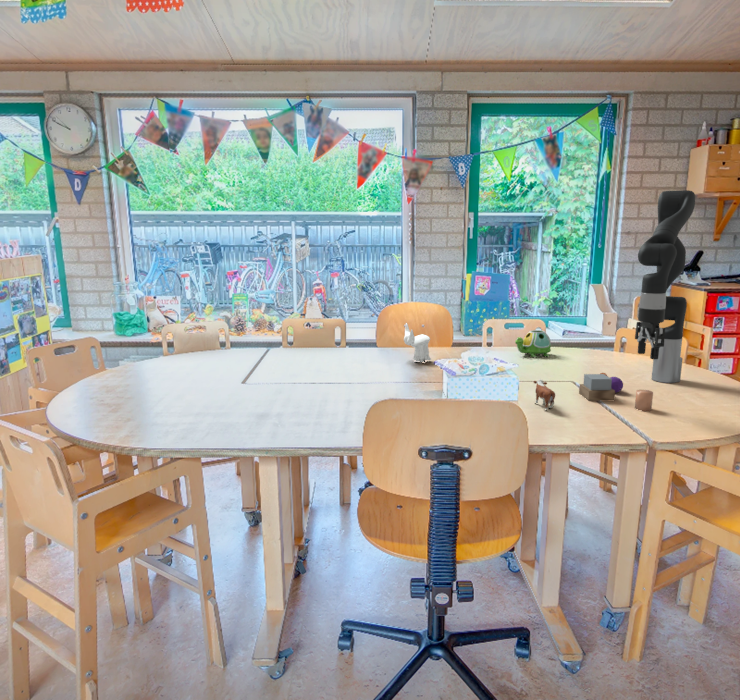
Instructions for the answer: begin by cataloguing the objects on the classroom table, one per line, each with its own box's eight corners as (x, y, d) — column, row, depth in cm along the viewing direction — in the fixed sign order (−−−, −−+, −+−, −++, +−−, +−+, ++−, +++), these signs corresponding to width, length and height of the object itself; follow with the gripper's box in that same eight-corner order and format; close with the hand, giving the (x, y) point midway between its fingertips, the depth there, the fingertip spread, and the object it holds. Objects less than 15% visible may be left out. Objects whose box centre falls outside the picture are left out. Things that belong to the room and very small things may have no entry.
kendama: (612, 371, 216) (627, 380, 197) (608, 385, 217) (622, 396, 198) (597, 368, 217) (610, 376, 197) (593, 382, 218) (605, 392, 198)
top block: (602, 384, 197) (603, 374, 197) (610, 390, 191) (611, 379, 190) (583, 384, 198) (584, 374, 197) (590, 390, 191) (591, 379, 190)
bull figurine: (542, 400, 192) (543, 377, 190) (556, 412, 179) (558, 388, 177) (530, 400, 192) (531, 378, 190) (543, 412, 179) (544, 388, 177)
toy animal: (402, 357, 264) (400, 323, 260) (427, 355, 264) (426, 321, 261) (407, 367, 244) (405, 329, 241) (434, 365, 245) (433, 328, 241)
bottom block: (603, 394, 200) (604, 383, 199) (614, 401, 191) (615, 390, 190) (578, 394, 200) (579, 384, 199) (588, 401, 191) (589, 390, 190)
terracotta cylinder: (646, 406, 184) (648, 389, 182) (654, 411, 179) (656, 393, 178) (631, 406, 184) (633, 389, 182) (639, 411, 179) (640, 393, 178)
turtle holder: (508, 354, 267) (509, 330, 265) (542, 351, 271) (543, 328, 269) (520, 359, 256) (522, 334, 253) (555, 357, 260) (557, 332, 257)
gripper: (676, 309, 167) (670, 361, 171) (652, 304, 181) (648, 351, 185) (651, 309, 167) (646, 361, 171) (630, 304, 181) (626, 352, 185)
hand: (647, 356), depth 178 cm, fingers open, 8 cm apart
